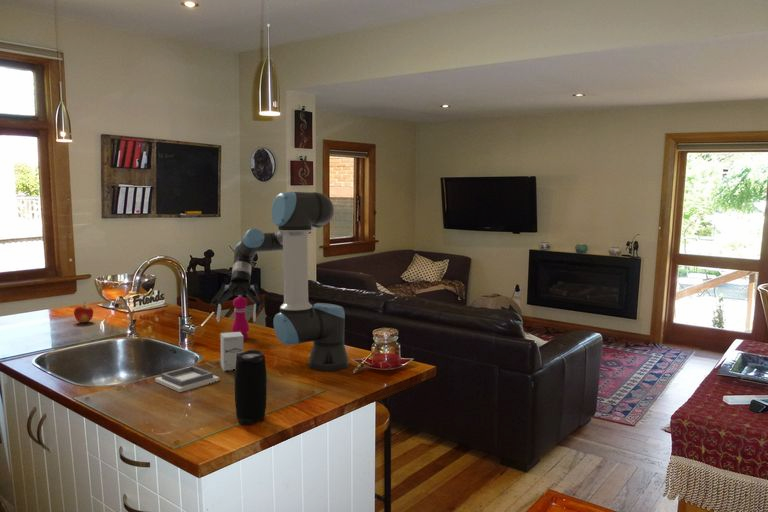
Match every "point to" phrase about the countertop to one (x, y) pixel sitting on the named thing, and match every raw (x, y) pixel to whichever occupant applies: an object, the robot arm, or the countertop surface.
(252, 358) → the portable speaker
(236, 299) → the pepper mill
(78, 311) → the apple
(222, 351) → the supplement box
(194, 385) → the collar board
